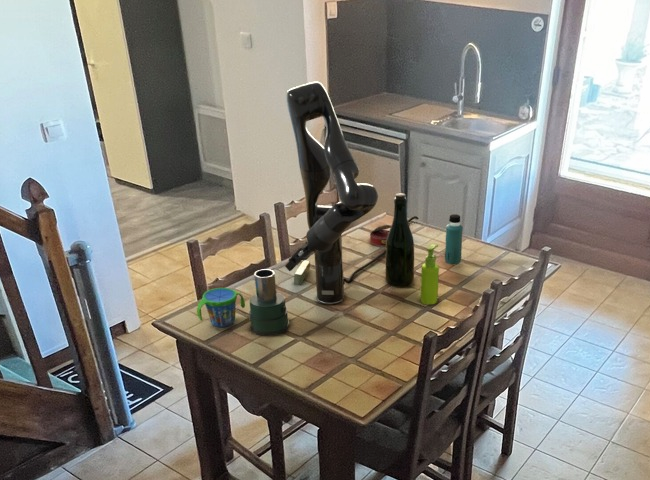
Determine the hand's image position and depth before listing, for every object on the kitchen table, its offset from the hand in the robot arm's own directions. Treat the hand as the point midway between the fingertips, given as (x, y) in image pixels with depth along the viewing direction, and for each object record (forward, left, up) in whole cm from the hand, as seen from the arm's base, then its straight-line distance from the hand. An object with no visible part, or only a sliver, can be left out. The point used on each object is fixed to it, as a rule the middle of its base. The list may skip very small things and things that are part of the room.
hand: (295, 263), depth 206 cm
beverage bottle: (-69, +28, -25) cm, 78 cm away
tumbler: (0, -11, -14) cm, 18 cm away
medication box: (-36, -19, -25) cm, 47 cm away
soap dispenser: (-38, +30, -25) cm, 54 cm away
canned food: (-79, -6, -25) cm, 83 cm away
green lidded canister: (0, -11, -24) cm, 27 cm away
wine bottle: (-47, +15, -25) cm, 55 cm away
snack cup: (+4, -26, -25) cm, 36 cm away
